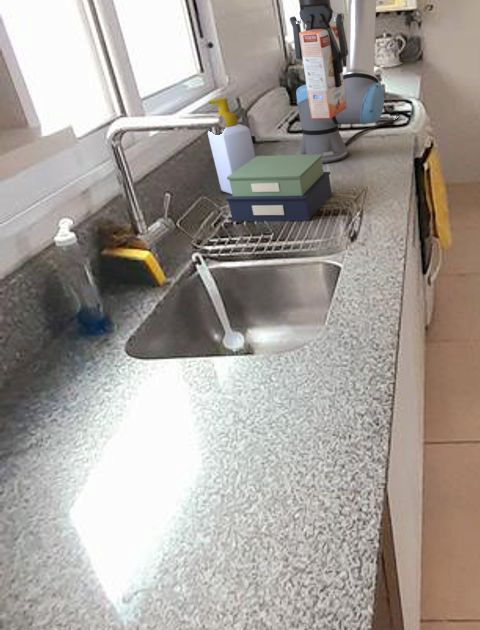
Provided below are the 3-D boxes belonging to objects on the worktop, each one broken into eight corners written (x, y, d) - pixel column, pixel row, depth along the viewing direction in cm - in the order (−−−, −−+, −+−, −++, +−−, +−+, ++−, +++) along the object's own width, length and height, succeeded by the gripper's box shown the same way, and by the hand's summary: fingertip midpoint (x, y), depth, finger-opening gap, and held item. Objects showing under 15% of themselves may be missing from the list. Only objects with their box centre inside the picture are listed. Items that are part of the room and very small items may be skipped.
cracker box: (332, 119, 156) (320, 30, 145) (310, 120, 157) (296, 32, 147) (348, 107, 168) (338, 25, 157) (328, 108, 169) (316, 26, 158)
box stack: (262, 194, 168) (254, 154, 163) (333, 193, 165) (327, 153, 159) (231, 221, 151) (220, 178, 145) (309, 221, 147) (302, 177, 142)
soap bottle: (219, 191, 173) (197, 100, 160) (246, 183, 178) (227, 94, 166) (236, 197, 167) (215, 103, 155) (263, 188, 173) (245, 96, 160)
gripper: (270, -9, 146) (287, 91, 157) (346, -15, 143) (358, 88, 154) (281, -11, 152) (296, 86, 164) (354, -16, 149) (364, 82, 161)
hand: (326, 86), depth 159 cm, fingers closed on cracker box, 6 cm apart
